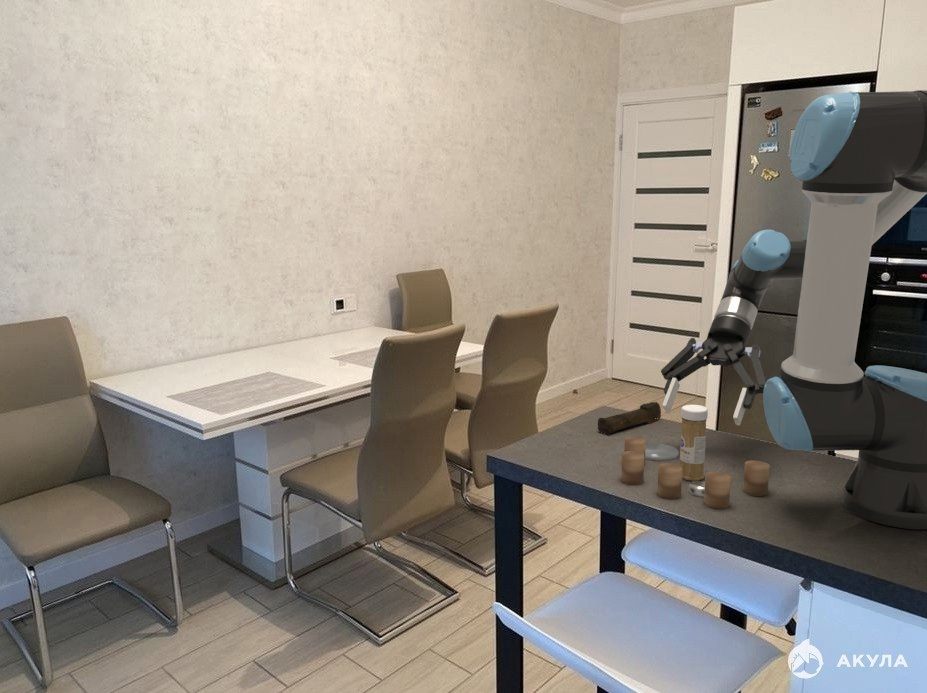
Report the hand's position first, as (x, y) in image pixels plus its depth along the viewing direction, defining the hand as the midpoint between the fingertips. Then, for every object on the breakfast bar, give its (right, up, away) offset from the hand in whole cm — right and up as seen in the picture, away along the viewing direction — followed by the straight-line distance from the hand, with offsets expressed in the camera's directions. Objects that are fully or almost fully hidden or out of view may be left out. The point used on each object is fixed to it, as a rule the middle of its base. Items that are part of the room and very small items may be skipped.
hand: (699, 415), depth 134 cm
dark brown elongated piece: (-6, -6, +29) cm, 30 cm away
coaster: (-6, -9, +11) cm, 15 cm away
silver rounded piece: (-3, -13, -9) cm, 16 cm away
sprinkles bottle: (-2, -11, -2) cm, 12 cm away
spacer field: (-5, -12, -4) cm, 13 cm away
